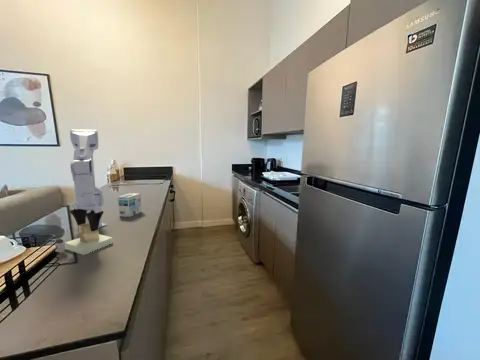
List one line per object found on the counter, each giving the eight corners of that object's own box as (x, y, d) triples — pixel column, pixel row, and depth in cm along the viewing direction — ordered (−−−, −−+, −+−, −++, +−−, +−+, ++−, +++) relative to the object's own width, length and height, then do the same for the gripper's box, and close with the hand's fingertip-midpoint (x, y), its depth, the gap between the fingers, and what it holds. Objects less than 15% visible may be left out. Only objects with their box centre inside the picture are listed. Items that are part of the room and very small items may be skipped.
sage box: (65, 250, 88) (64, 242, 87) (95, 239, 98) (94, 232, 97) (84, 256, 83) (83, 248, 83) (113, 245, 93) (112, 237, 92)
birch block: (80, 240, 89) (78, 225, 88) (92, 236, 93) (90, 221, 92) (87, 243, 87) (85, 227, 86) (99, 238, 91) (97, 223, 90)
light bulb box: (130, 217, 126) (128, 197, 124) (118, 216, 127) (117, 196, 126) (142, 211, 136) (141, 193, 135) (131, 211, 138) (130, 192, 136)
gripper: (61, 193, 87) (65, 229, 89) (85, 197, 80) (89, 235, 83) (81, 189, 93) (84, 223, 95) (105, 193, 87) (108, 229, 89)
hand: (88, 228), depth 89 cm, fingers open, 7 cm apart
